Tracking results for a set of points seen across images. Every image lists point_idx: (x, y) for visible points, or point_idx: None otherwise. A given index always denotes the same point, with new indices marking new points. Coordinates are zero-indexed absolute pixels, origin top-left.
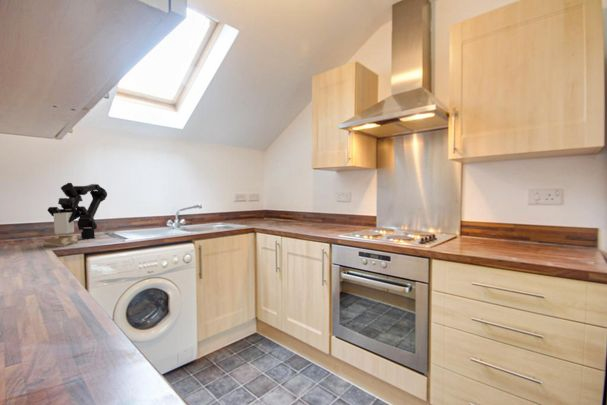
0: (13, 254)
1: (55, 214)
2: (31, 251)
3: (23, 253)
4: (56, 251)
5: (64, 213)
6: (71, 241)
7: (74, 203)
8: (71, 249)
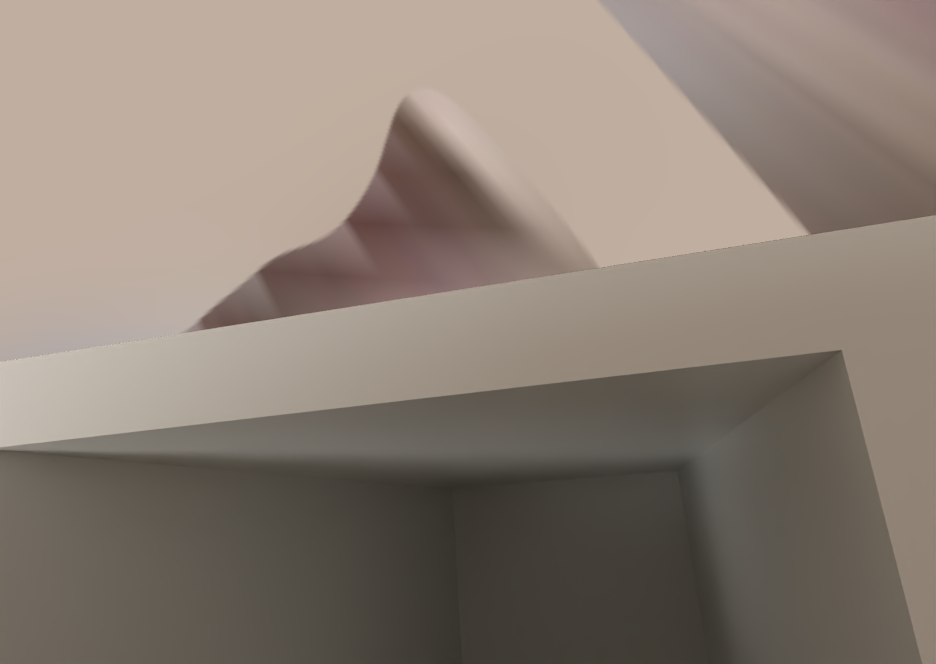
0: (857, 8)
1: (711, 274)
2: (779, 169)
3: (770, 62)
4: (430, 168)
5: (35, 359)
6: None
7: None
8: (328, 268)
